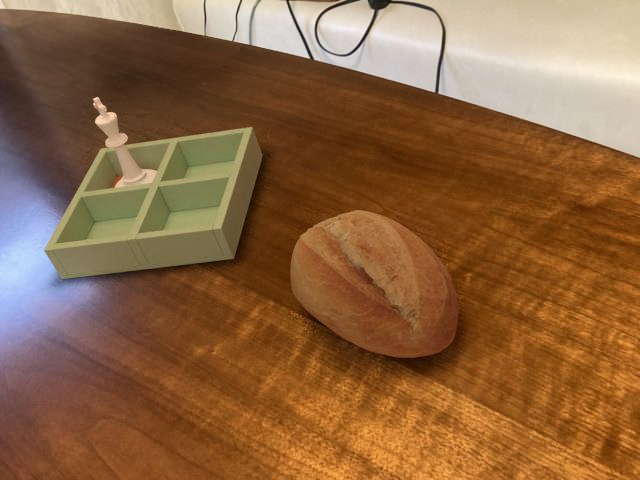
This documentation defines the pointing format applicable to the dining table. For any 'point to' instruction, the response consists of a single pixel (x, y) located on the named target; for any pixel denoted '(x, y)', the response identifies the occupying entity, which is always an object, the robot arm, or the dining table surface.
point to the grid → (160, 206)
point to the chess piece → (121, 149)
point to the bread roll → (375, 285)
